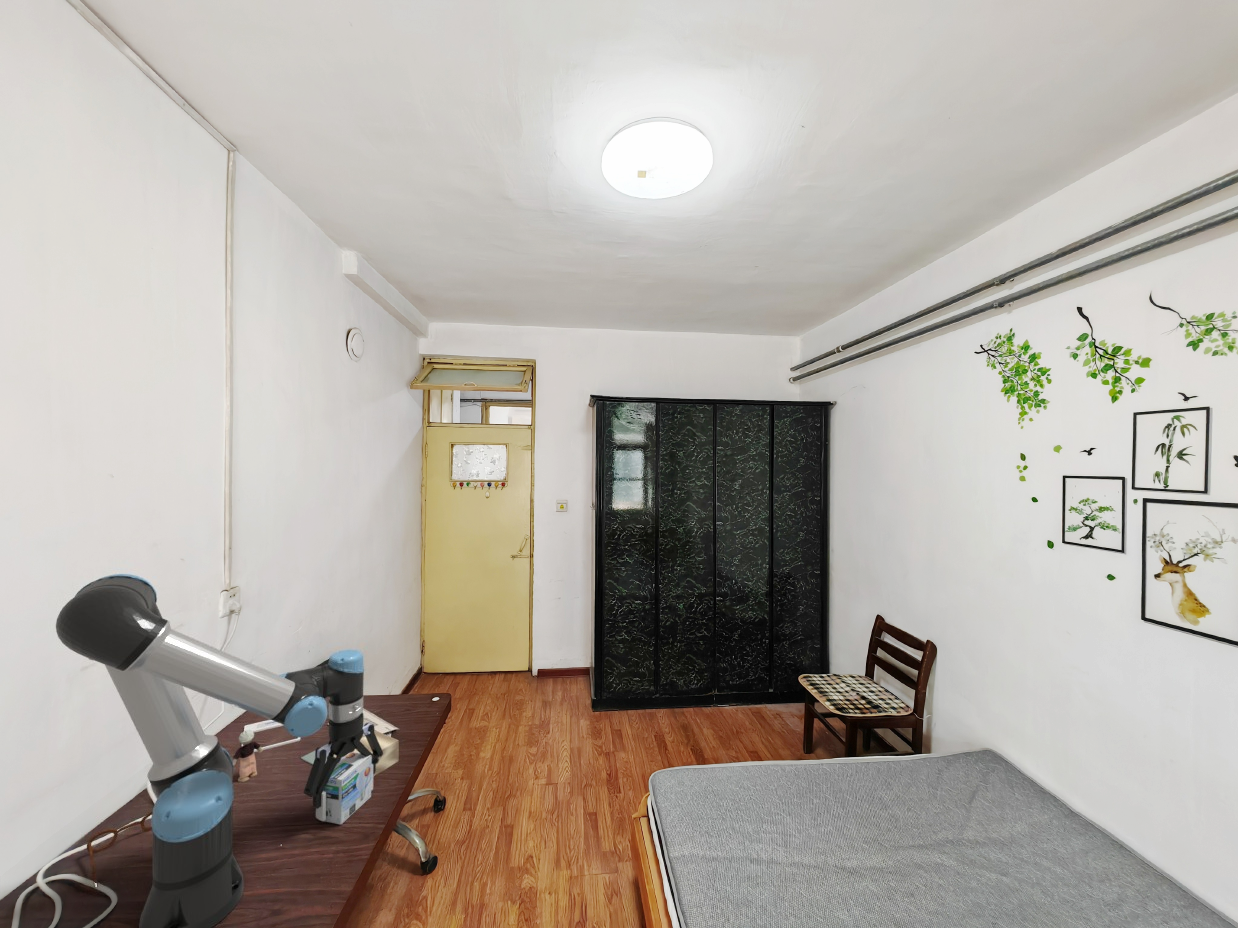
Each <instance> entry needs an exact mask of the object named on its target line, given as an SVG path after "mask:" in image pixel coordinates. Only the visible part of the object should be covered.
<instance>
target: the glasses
mask: <svg viewBox="0 0 1238 928" xmlns="http://www.w3.org/2000/svg"><path fill="white" fill-rule="evenodd" d="M152 813H153V810H152V811H150V812H148V813H147V814H146V815H144V816H143V817H142V818H141V820H138V821H134V822H131V823H130V824H126V825H124V826H122V827H120V828H119V829H117V828H107V829H105V830H102V831H100V832H97V833H95V834H93V836H92V837H91V838H90V839H89V840H88V841H87V844H86V850H87V852H88V853H89V859H90V864H91V865H90V866H91V869H92V871H91V873H92V879H93V883H94V882H95V883H97V884H98V880H97V874H96V868H95V860H94V854H97V853H98V852H101V851H103V850H106V849H108V848H110V847H112V845H114V843H116V840H117V839H118V835H119V833H120V832H123V831H124V830H127V829H130V828H132V827H134V826H137V825H140V828H141V829H142V831H144V832H145V831H146V832H149V831H150V830H153V829H152V827H151V826H148V827H147V826H145V822H146V820H147V819H148V818H149V817H150V816H152ZM109 833H112V834H113V838H112V840H111V841H110V842H109V843H108V844H105V846H102V847H100V848H93V847H92V843H93V841H94V840H95V839H96V838H98V837H100V836H102V835H104V834H109Z"/></svg>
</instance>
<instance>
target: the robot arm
mask: <svg viewBox="0 0 1238 928" xmlns="http://www.w3.org/2000/svg"><path fill="white" fill-rule="evenodd" d="M157 600H158V597H157V591H156V589H155V587H154V586H153V585H152V584H151V583H150V582H149V581H148V580H147V579H144V578H143V577H140V576H138V575H134V574H130V573H129V574H128V573H119V574H118V573H115V574H112V575H111V574H110V575H106V576H104V577H100V578H98V579H96V580H94V581H90V582H89V583H88V584H86V585H84V586H83V587H82V588H81V589H80V590H78V592H76V594H75V595H74V597H73V598H71V599H70V600H69V601H67V603H66V604H65V605H64V606H63V607H62V609H61V610H60V611H59V613H58V616H57V618H56V623H55V630H56V631H55V632H56V634H57V637H58V639H59V640H60V642H61V643H62V644H63V645H64V646H65V647H67V648H68V649H69V650H71V651H73V652H75V653H76V654H78V655H80V656H82V657H84V658H86V659H88V660H90V661H95V662H98V663H100V664H102V665H104V666H105V668H106V670H107V672H108V674H109V676H110V678H111V680H112V682H113V684H114V686H115V688H116V691H117V693H118V695H119V697H120V699H121V701H122V703H123V705H124V707H125V709H126V711H127V713H128V715H129V717H130V719H131V721H132V723H133V725H134V727H135V730H136V732H137V733H138V736H139V737H140V740H141V741H142V743H143V745H144V747H145V750H146V751H147V754H148V756H149V758H150V759H151V762H152V765H151V767H150V768H149V771H148V773H147V779H148V781H149V784H151V785H150V786H151V788H152V790H153V791H154V793H155V795H156V797H157V799H156V801H155V803H154V805H153V809H152V811H153V813H152V815H151V818H150V827H152V829H151V830H152V886H151V887H150V888H151V889H150V891H149V894H148V897H147V899H146V901H145V904H144V906H143V909H142V911H141V913H140V914H141V915H140V918H139V923H138V924H139V927H138V928H213V927H215V926H216V925H218V924H219V923H220V922H221V921H223V919H225V918H226V917H227V916H229V914H230V913H231V912H232V911H233V910H234V909H235V908H236V906H237V905H238V904H239V902H240V900H241V898H242V896H243V893H244V874H243V872H242V869H241V868H240V866H239V864H238V862H237V860H236V858H235V856H234V854H233V824H234V822H233V816H234V815H233V813H234V812H233V808H234V807H233V801H234V798H235V797H234V796H235V792H234V791H235V789H234V786H233V775H234V766H233V762H232V760H233V758H232V756H231V754H229V752H228V751H227V750H226V748H224V747H222V745H221V743H220V741H219V739H218V737H217V736H216V735H211V734H205V731H204V729H203V728H202V725H201V723H200V721H199V719H198V717H197V715H196V712H195V710H194V708H193V705H192V704H191V701H190V699H189V697H188V695H187V693H186V691H185V688H186V689H189V690H192V691H194V692H197V693H199V694H202V695H205V696H208V697H210V698H213V699H216V700H218V701H221V702H223V703H226V704H229V705H230V706H234V707H236V708H238V709H240V710H241V709H242V710H244V711H246V712H250V713H251V714H256V715H257V716H260V717H262V718H265V719H267V720H273V721H275V722H278V723H280V724H283V725H284V728H285V730H286V731H287V732H288V733H289V734H290V735H291V736H293V737H294V738H298V737H300V738H306V737H307V738H308V737H310V736H312V735H314V734H315V733H317V732H318V731H320V729H322V727H323V726H324V725H325V722H326V721H327V718H328V719H329V720H328V723H329V725H328V737H329V738H328V739H329V741H328V743H327V744H328V745H327V744H326V745H327V746H325V745H324V746H325V747H323V746H322V747H323V748H321V747H320V746H318V747H316V748H315V750H314V751H315V760H314V763H313V765H311V766H312V767H311V770H310V773H309V775H308V778H307V781H306V784H305V787H304V789H303V794H304V795H306V796H308V797H309V798H312V806H313V808H314V809H315V818H316V819H317V820H319V821H321V822H325V821H324V820H326V792H325V791H323V790H324V788H325V786H326V784H327V782H328V780H329V778H330V776H331V775H332V773H333V771H334V769H335V767H336V765H337V763H339V762H340V760H341V758H342V757H344V756H346V755H347V754H348V753H351V752H353V751H354V750H355V749H356V750H357V751H358V752H359V753H360V754H362V755H364V756H366V757H368V756H369V755H371V756H372V765H371V791H373V790H374V777H373V774H375V772H376V764H377V763H378V762H379V759H377V758H378V757H381V756H382V755H383V751H382V749H381V747H380V744H379V742H378V740H377V738H376V735H375V733H374V725H372V724H369V723H366V724H365V725H364V727H363V713H362V712H363V708H364V677H365V676H364V674H365V673H364V672H365V668H364V667H365V666H364V655H363V653H362V652H361V651H359V650H357V649H343V650H339V651H338V652H333V654H331V655H330V656H329V659H328V662H327V664H323V665H320V666H315V667H310V668H306V669H301V670H296V671H288V672H285V673H282V674H276V673H274V672H272V671H269V670H267V669H264V668H263V667H260V666H258V665H255V664H253V663H251V662H249V661H246V660H244V659H241V658H239V657H237V656H235V655H232V654H230V653H228V652H226V651H223V650H221V649H218V648H216V647H213V646H212V645H209V644H207V643H205V642H202V641H200V640H198V639H195V638H194V637H193V638H192V637H191V636H190V635H189V636H188V635H186V634H184V633H182V632H179V631H178V630H177V631H176V630H174V629H172V628H171V627H172V626H171V622H170V621H169V620H167V619H165V618H163V616H162V614H161V612H160V609H159V607H158V605H157V603H158V602H157ZM327 698H328V704H327V701H326V700H325V699H327ZM363 734H365V736H366V739H367V741H368V743H369V745H370V747H371V750H372V752H373V754H372V753H371V752H370V751H369V750H368V749H367V748H366V747H365V746H364V745H363V744H362V743H361V742H360V740H361V738H362V736H363ZM329 751H330V752H329ZM328 752H329V754H328ZM334 754H335V755H336V758H335V757H334ZM326 757H327V761H326ZM325 762H326V763H325Z"/></svg>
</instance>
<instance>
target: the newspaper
mask: <svg viewBox="0 0 1238 928" xmlns="http://www.w3.org/2000/svg"><path fill="white" fill-rule="evenodd" d="M362 713H363V727H364V725H365V724H366V723H369V724H372V725H374V731H378V732H380V733H383V734H385V733H389V732H392V731H400V728H398V727H396V726H394V725H393V724H391V723H390V722H388V721H386V720H384V719H383V718H381V717H380V716H377V715H376V714H374V713H372V712H371V711H369V710H367V709H366V708H364V707H363V712H362ZM327 725H328V726H329V722H328V723H327ZM363 737H365V734H363V736H362V738H363Z"/></svg>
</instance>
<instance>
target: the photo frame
mask: <svg viewBox="0 0 1238 928" xmlns="http://www.w3.org/2000/svg"><path fill="white" fill-rule="evenodd" d="M282 726H284V727H285V725H283V724H280V723H278V722H275V721H273V720H270V719H267V720H263V721H258V722H255V723H250V724H247V725H244V726H243V728H244V729H243V732H244V731H246V730H251V731H252V732H253V733H254V734H255V733H258V732H262V731H266V730H270V729H271V730H272V729H275V728H279V727H282ZM300 741H301V737H296V738H294V739H290V740H286V741H282V742H277V743H275V744H274V743H273V744H270V745H267V746H263V747H262V746H261V749H263V751H264V750H265V751H266V750H269V749H272V748H277V747H280V746H284V745H288V744H293V743H296V742H300ZM242 746H243V744H241V747H242ZM257 752H258V751H257V749H254V753H257Z"/></svg>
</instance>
